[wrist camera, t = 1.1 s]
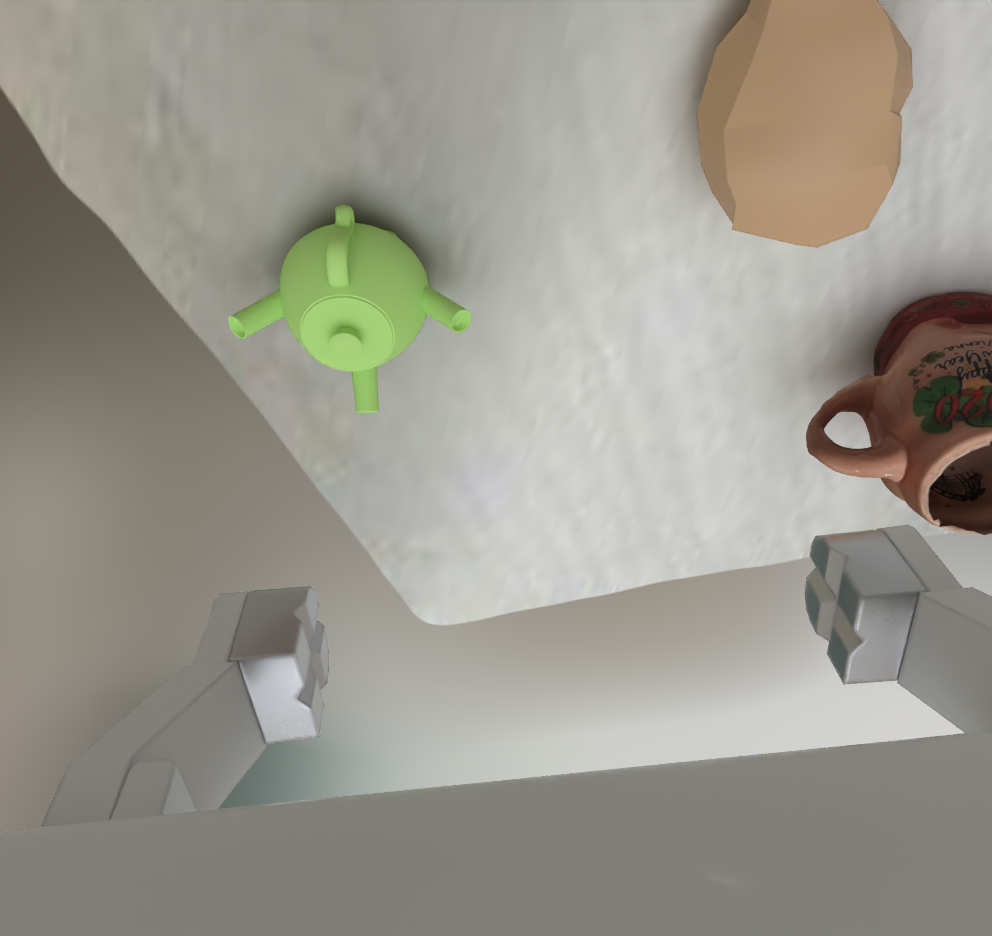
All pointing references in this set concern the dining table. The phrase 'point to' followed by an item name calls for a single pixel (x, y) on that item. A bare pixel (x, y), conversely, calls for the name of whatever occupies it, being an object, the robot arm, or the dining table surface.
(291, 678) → the robot arm
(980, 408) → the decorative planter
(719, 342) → the dining table surface
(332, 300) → the teapot
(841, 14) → the squash
